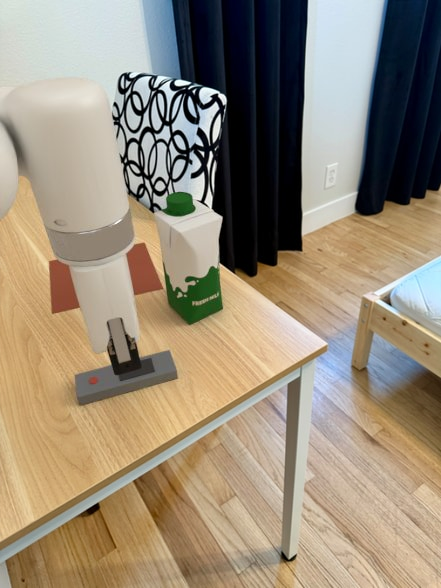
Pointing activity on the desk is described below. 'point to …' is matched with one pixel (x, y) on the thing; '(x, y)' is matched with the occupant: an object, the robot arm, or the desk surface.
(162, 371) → the remote
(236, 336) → the desk surface
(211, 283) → the milk carton
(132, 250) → the mat
